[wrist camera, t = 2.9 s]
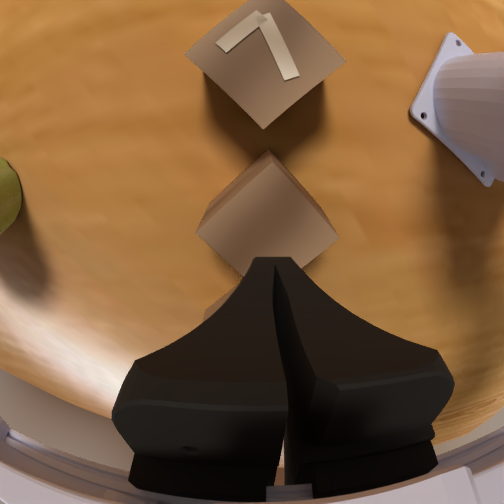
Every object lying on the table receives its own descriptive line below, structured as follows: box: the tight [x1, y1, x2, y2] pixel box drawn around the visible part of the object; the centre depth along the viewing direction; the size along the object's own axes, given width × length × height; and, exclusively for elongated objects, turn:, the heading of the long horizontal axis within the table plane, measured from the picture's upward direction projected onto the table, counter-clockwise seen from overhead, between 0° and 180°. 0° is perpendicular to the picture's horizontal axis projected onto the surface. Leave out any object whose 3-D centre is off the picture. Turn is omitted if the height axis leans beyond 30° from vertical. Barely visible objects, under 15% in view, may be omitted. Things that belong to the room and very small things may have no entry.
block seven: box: [184, 0, 346, 129], centre depth 13 cm, size 5×5×5 cm
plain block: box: [196, 149, 340, 277], centre depth 16 cm, size 5×5×5 cm
